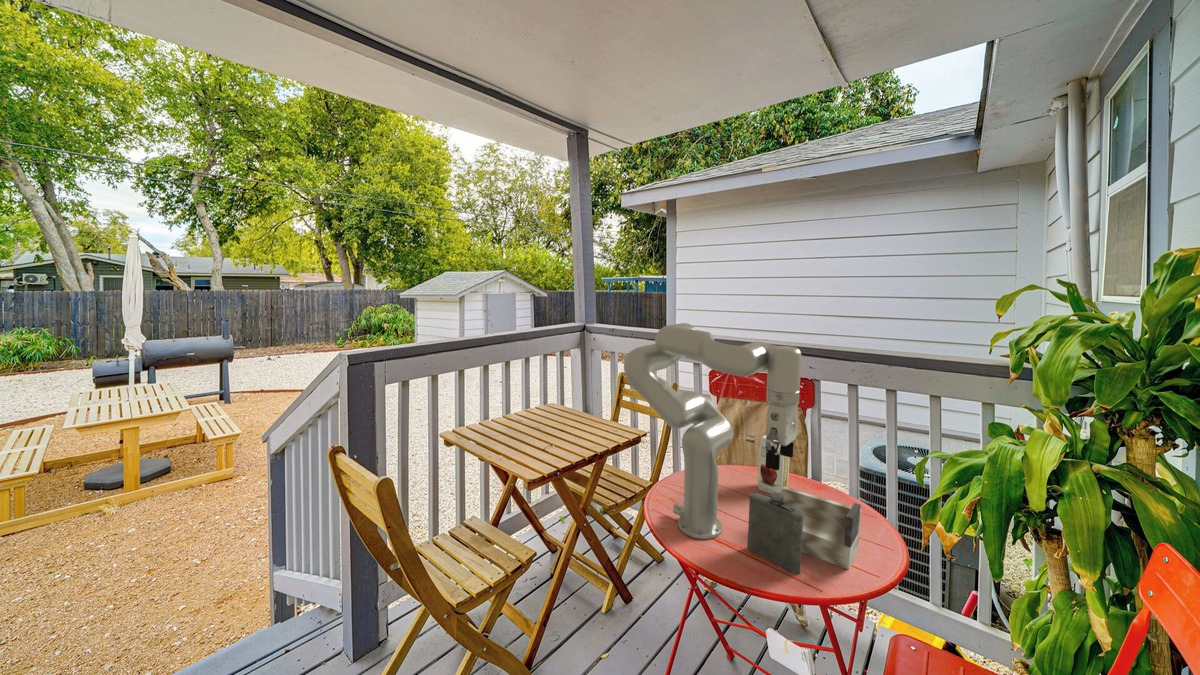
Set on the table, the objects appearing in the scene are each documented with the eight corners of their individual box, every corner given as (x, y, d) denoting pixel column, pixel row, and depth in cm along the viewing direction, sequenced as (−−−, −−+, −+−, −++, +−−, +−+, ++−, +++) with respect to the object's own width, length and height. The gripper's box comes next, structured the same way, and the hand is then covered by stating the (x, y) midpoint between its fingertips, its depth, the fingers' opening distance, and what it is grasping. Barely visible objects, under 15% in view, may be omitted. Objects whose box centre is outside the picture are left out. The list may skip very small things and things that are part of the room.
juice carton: (765, 482, 163) (768, 431, 160) (789, 490, 157) (792, 437, 154) (755, 489, 158) (757, 436, 155) (779, 498, 151) (782, 443, 149)
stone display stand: (769, 539, 129) (772, 493, 127) (782, 524, 136) (784, 480, 134) (848, 569, 116) (852, 518, 114) (857, 551, 124) (862, 502, 121)
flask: (752, 544, 127) (755, 483, 124) (803, 570, 116) (807, 503, 113) (745, 549, 125) (748, 487, 122) (796, 576, 114) (800, 508, 111)
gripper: (786, 407, 105) (782, 478, 107) (809, 391, 118) (805, 455, 120) (753, 401, 109) (751, 469, 112) (779, 386, 122) (777, 448, 125)
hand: (779, 462), depth 116 cm, fingers open, 9 cm apart
